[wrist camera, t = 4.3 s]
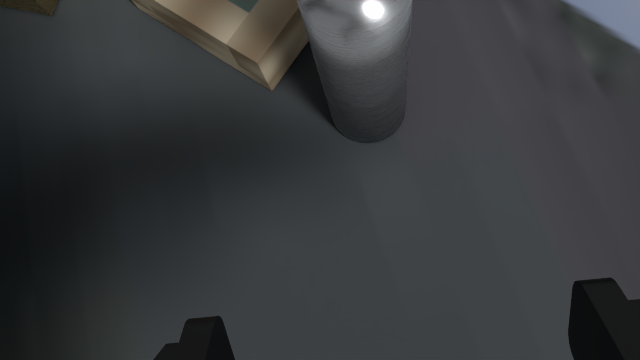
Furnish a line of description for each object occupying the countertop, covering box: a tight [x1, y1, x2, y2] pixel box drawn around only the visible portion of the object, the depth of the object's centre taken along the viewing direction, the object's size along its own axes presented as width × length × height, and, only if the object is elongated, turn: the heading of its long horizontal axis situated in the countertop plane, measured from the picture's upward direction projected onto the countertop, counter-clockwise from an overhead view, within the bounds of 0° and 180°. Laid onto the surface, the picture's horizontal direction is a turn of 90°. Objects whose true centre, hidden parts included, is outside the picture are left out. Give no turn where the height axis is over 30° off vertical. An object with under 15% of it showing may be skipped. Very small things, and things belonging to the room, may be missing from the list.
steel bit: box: [297, 0, 412, 143], centre depth 25 cm, size 4×4×12 cm
